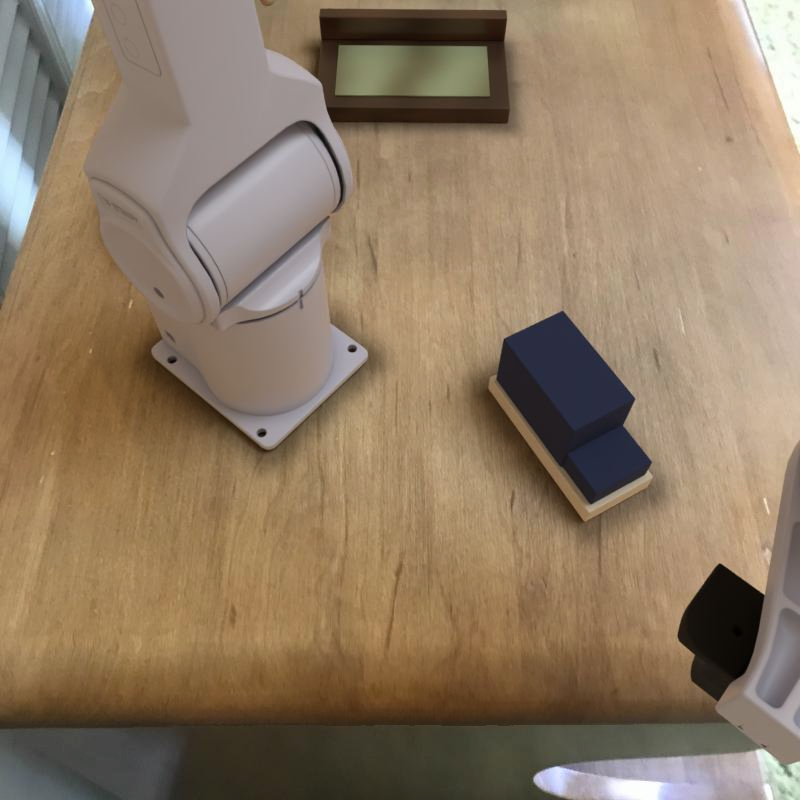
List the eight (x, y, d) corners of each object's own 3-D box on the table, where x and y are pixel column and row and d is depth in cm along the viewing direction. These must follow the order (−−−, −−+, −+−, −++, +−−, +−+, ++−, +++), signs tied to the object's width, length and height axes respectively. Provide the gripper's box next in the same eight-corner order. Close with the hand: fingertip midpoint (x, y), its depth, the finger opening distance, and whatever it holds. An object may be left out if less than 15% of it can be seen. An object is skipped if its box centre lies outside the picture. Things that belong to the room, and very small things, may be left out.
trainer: (487, 388, 45) (496, 335, 41) (548, 358, 46) (562, 304, 42) (584, 522, 41) (605, 479, 37) (648, 487, 42) (676, 441, 38)
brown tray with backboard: (316, 121, 56) (311, 84, 54) (323, 45, 60) (319, 7, 58) (508, 123, 56) (513, 86, 54) (502, 47, 60) (506, 9, 58)
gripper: (1111, 851, 13) (779, 869, 25) (1320, 309, 19) (969, 531, 31) (726, 572, 16) (586, 708, 27) (1012, 164, 21) (795, 421, 33)
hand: (775, 606), depth 29 cm, fingers open, 7 cm apart
